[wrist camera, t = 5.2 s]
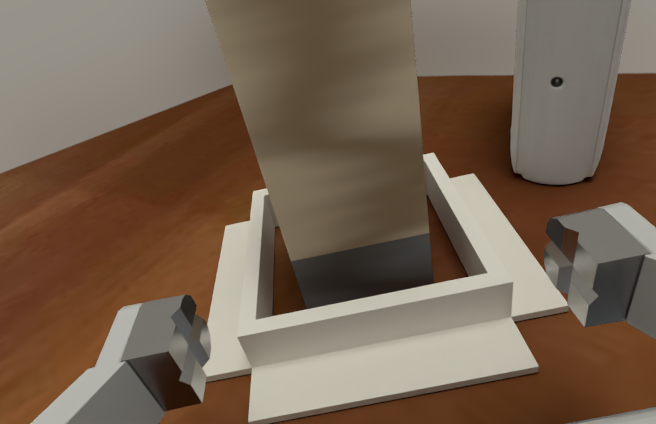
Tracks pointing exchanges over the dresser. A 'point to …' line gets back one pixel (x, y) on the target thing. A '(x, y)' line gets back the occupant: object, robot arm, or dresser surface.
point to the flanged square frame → (379, 316)
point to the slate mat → (611, 416)
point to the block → (335, 137)
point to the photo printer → (564, 86)
